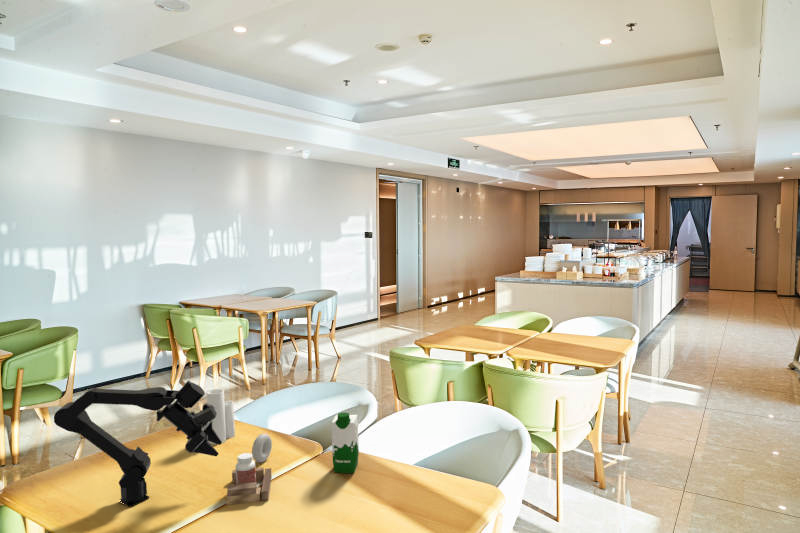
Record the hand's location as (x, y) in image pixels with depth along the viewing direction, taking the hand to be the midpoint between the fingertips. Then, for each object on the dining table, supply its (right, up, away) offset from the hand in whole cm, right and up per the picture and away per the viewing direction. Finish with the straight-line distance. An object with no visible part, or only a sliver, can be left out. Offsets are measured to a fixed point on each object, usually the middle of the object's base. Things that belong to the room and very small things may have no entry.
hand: (219, 449), depth 174 cm
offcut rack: (+10, -13, +1) cm, 17 cm away
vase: (-14, -11, +43) cm, 47 cm away
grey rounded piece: (+8, -12, +22) cm, 26 cm away
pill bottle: (+8, -14, +1) cm, 16 cm away
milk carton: (+39, -12, +15) cm, 44 cm away
